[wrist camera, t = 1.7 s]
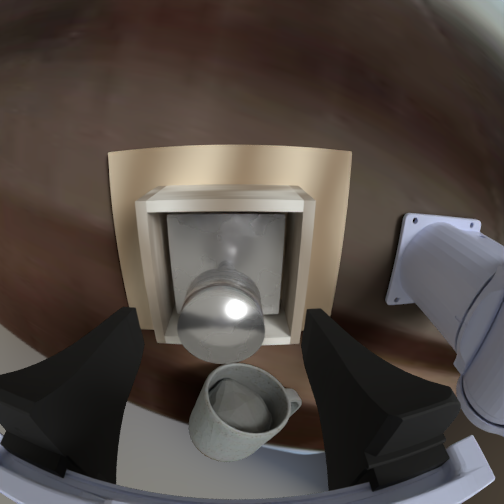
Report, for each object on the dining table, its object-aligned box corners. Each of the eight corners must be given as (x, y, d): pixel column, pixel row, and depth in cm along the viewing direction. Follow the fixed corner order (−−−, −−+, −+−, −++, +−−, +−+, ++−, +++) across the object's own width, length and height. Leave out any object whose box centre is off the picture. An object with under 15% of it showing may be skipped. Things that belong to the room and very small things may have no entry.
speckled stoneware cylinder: (188, 402, 26) (182, 463, 19) (207, 353, 24) (201, 425, 17) (279, 418, 28) (288, 474, 21) (313, 374, 26) (332, 438, 19)
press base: (348, 151, 17) (382, 157, 13) (325, 325, 23) (342, 366, 18) (111, 151, 17) (74, 159, 12) (136, 324, 22) (118, 364, 18)
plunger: (284, 212, 16) (310, 259, 10) (277, 309, 19) (292, 383, 13) (168, 212, 16) (129, 259, 10) (178, 309, 18) (157, 381, 12)
